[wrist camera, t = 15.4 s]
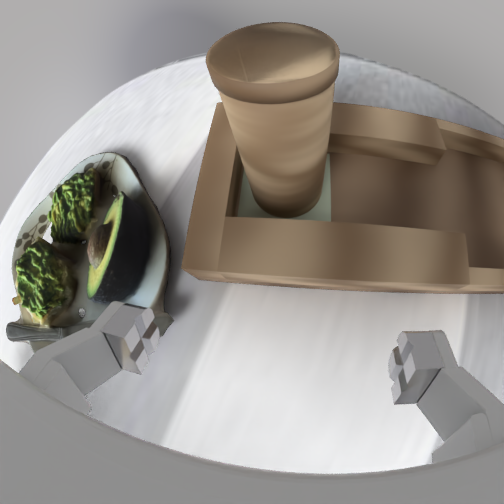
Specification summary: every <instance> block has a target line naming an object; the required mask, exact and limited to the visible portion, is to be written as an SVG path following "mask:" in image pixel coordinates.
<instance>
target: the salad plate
mask: <svg viewBox="0 0 504 504" xmlns="http://www.w3.org/2000/svg"><path fill="white" fill-rule="evenodd" d="M113 195H115V197H114V196H113ZM51 222H52V226H51V237H52V238H53V242H52V244H50V243H48V242H47V241H45V240H44V239H42V238H43V235H44V233H45V232H46V230H47V228H48V227H49V225H50V223H51ZM84 240H85V241H86V243H85V244H81V242H82V241H84ZM170 254H171V250H170V244H169V238H168V235H167V232H166V229H165V226H164V223H163V221H162V219H161V217H160V215H159V212H158V208H157V206H156V205H155V204H154V202H153V201H152V200H151V198H150V196H149V195H148V193H147V191H146V189H145V187H144V185H143V183H142V181H141V179H140V177H139V175H138V172H137V170H136V168H135V167H134V166H133V165H132V164H131V162H130V161H129V160H128V158H127V157H125V156H123V155H120V154H117V153H113V152H105V153H100V154H96V155H92V156H90V157H88V158H86V159H84V160H83V161H82V162H80V163H79V164H78V165H77V166H75V167H74V168H73V169H72V170H71V171H70V172H69V173H68V174H67V175H66V176H65V177H64V178H63V180H62V181H61V182H60V183H59V184H58V185H57V186H56V187H55V188H54V189H53V190H52V191H51V192H50V193H49V194H48V196H47V197H46V198H45V199H44V200H43V201H42V202H41V203H39V205H38V206H37V207H36V209H35V210H34V211H33V212H32V213H31V214H30V216H29V217H28V218H27V219H26V221H25V222H24V224H23V226H22V227H21V230H20V232H19V234H18V237H17V240H16V243H15V247H14V252H13V258H12V275H13V281H14V285H15V289H16V294H17V297H14V298H13V299H12V301H13V303H14V305H17V304H19V307H20V311H21V315H20V319H19V320H18V321H16V322H10V323H8V324H7V328H6V333H7V337H8V339H9V340H10V341H13V342H26V343H29V344H30V346H31V348H32V350H33V352H34V354H35V353H36V351H37V350H39V349H41V348H44V347H46V346H48V345H50V344H52V343H54V342H56V341H59V340H61V339H63V338H65V337H67V336H69V335H71V334H74V333H76V332H78V331H80V330H82V329H84V328H90V327H91V326H92V324H93V323H94V322H95V321H96V320H97V319H98V317H99V316H100V315H101V314H102V313H103V312H104V310H105V309H106V308H107V307H108V306H109V305H110V304H111V302H114V301H118V302H122V303H128V304H133V305H137V306H142V307H146V308H150V309H152V311H153V314H154V316H155V318H154V319H153V322H154V323H155V324H156V325H157V326H158V329H159V335H160V337H161V336H163V335H164V333H165V331H166V330H167V328H168V327H169V326H170V325H171V324H172V322H173V321H174V320H173V318H172V317H171V316H170V315H169V314H168V313H166V312H164V307H163V303H164V294H165V290H166V285H167V281H168V274H169V268H170V259H171V258H170ZM80 308H83V309H84V310H85V316H84V317H83V318H81V317H80V315H79V309H80Z"/></svg>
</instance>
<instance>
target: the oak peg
mask: <svg viewBox="0 0 504 504" xmlns="http://www.w3.org/2000/svg"><path fill="white" fill-rule="evenodd" d="M339 57H340V51H339V48H338V45H337V44H336V42H335V41H334V40H333V39H332V38H331V37H330V36H328V35H327V34H325V33H324V32H322V31H320V30H318V29H315V28H312V27H309V26H305V25H301V24H295V23H286V22H272V23H262V24H256V25H251V26H247V27H244V28H241V29H238V30H235V31H233V32H231V33H229V34H227V35H225V36H224V37H222V38H220V39H219V40H218V41H217V42H215V43H214V44H213V45H212V47H211V48H210V49H209V51H208V53H207V56H206V64H207V68H208V70H209V73H210V76H211V79H212V82H213V84H214V86H215V87H216V88H217V89H218V91H219V93H220V96H221V99H222V102H223V105H224V108H225V111H226V114H227V117H228V120H229V123H230V126H231V129H232V132H233V135H234V138H235V142H236V145H237V148H238V151H239V154H240V157H241V160H242V163H243V166H244V169H245V172H246V176H247V179H248V182H249V185H250V188H251V191H252V194H253V197H254V200H255V201H256V203H257V204H258V206H259V207H260V208H261V209H262V210H264V211H265V212H266V213H268V214H270V215H273V216H276V217H280V218H293V217H298V216H301V215H303V214H305V213H307V212H309V211H310V210H311V209H312V208H313V207H314V206H315V205H316V204H317V203H318V201H319V199H320V196H321V193H322V187H323V180H324V173H325V166H326V158H327V151H328V143H329V134H330V126H331V116H332V107H333V96H334V85H335V80H336V78H337V76H338V70H339Z"/></svg>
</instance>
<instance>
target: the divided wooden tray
mask: <svg viewBox="0 0 504 504" xmlns="http://www.w3.org/2000/svg"><path fill="white" fill-rule="evenodd" d="M181 269H183V270H184V271H186V272H188V273H189V274H191V275H192V276H194V277H196V278H197V279H199V280H207V281H218V282H230V283H242V284H254V285H267V286H281V287H296V288H312V289H330V290H349V291H371V292H399V293H445V294H503V293H504V139H501V138H499V137H496V136H493V135H490V134H488V133H485V132H482V131H479V130H476V129H472V128H469V127H466V126H462V125H459V124H455V123H452V122H448V121H444V120H440V119H436V118H432V117H428V116H423V115H418V114H414V113H409V112H403V111H398V110H392V109H386V108H379V107H372V106H364V105H356V104H346V103H335V102H333V107H332V116H331V126H330V134H329V143H328V151H327V158H326V166H325V173H324V180H323V187H322V193H321V196H320V199H319V201H318V203H317V204H316V205H315V206H314V207H313V208H312V209H311V210H310V211H309V212H307V213H305V214H303V215H301V216H298V217H293V218H280V217H276V216H273V215H270V214H268V213H266V212H265V211H264V210H262V209H261V208H260V207H259V206H258V204H257V203H256V201H255V200H254V197H253V194H252V191H251V188H250V185H249V182H248V179H247V176H246V172H245V169H244V166H243V163H242V160H241V157H240V154H239V151H238V148H237V145H236V142H235V138H234V135H233V132H232V129H231V126H230V123H229V120H228V117H227V114H226V111H225V108H224V105H223V102H220V103H217V105H216V109H215V113H214V116H213V120H212V124H211V128H210V132H209V136H208V140H207V144H206V148H205V152H204V156H203V160H202V164H201V169H200V173H199V178H198V182H197V187H196V191H195V196H194V201H193V206H192V211H191V216H190V221H189V226H188V232H187V237H186V243H185V248H184V254H183V260H182V266H181Z"/></svg>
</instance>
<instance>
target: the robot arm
mask: <svg viewBox="0 0 504 504" xmlns="http://www.w3.org/2000/svg"><path fill="white" fill-rule="evenodd" d="M154 318H155V316H154V314H153V311H152V309H150V308H146V307H142V306H137V305H133V304H128V303H122V302H118V301H114V302H111V304H110V305H109V306H108V307H107V308H106V309H105V310H104V312H103V313H102V314H101V315H100V316H99V317H98V319H97V320H96V321H95V322H94V323H93V324H92V326H91V327H90V328H84V329H82V330H80V331H78V332H76V333H74V334H71V335H69V336H67V337H65V338H63V339H61V340H59V341H56V342H54V343H52V344H50V345H48V346H46V347H44V348H41V349H39V350H37V351H36V353H35V354H34V355H33V356H32V357H31V359H30V360H29V361H28V362H27V363H26V365H25V366H24V367H23V368H22V370H21V371H20V372H19V373H17V372H16V371H15V370H13V369H12V368H11V367H9V366H8V365H7V364H5V363H4V362H3V361H2V360H0V504H504V404H503V403H502V402H501V401H500V400H499V399H497V398H496V397H495V396H494V395H493V394H492V393H491V392H490V391H489V390H488V389H486V388H485V387H484V386H483V385H482V384H481V383H480V382H479V381H478V380H476V379H475V378H474V377H473V376H472V375H471V374H470V373H468V372H467V371H466V370H465V369H464V368H463V367H458V365H457V362H456V360H455V357H454V354H453V352H452V349H451V347H450V344H449V342H448V340H447V337H446V335H445V333H444V332H443V331H442V330H437V331H402V332H401V333H400V334H399V337H398V339H397V343H398V346H397V347H396V348H395V349H393V351H392V353H391V355H390V359H389V376H390V378H391V379H392V380H393V381H394V382H395V383H394V384H393V386H392V388H391V389H392V395H393V402H394V404H414V403H417V404H416V405H417V406H418V407H419V409H420V410H421V411H422V413H423V414H424V415H425V417H426V418H427V419H428V421H429V422H430V423H431V425H432V426H433V427H434V429H435V430H436V431H437V433H438V434H439V436H440V437H441V438H442V440H443V441H444V442H443V443H442V444H441V445H440V446H439V447H438V448H436V449H435V450H434V451H433V453H432V462H433V463H432V464H427V465H422V466H416V467H410V468H404V469H397V470H389V471H379V472H367V473H348V474H314V473H295V472H282V471H273V470H264V469H257V468H250V467H244V466H238V465H232V464H227V463H222V462H218V461H213V460H209V459H204V458H200V457H196V456H193V455H189V454H185V453H182V452H178V451H175V450H172V449H169V448H165V447H162V446H159V445H156V444H153V443H151V442H148V441H145V440H142V439H140V438H137V437H134V436H132V435H129V434H127V433H125V432H122V431H120V430H117V429H115V428H113V427H111V426H108V425H106V424H104V423H102V422H100V421H98V420H96V419H93V418H91V417H89V416H87V415H88V413H89V411H90V409H91V404H90V403H89V402H88V400H87V399H86V398H85V397H84V396H85V395H86V394H88V393H89V392H91V391H92V390H94V389H95V388H97V387H98V386H100V385H101V384H103V383H104V382H105V381H107V380H108V379H110V378H111V377H113V376H114V375H116V374H117V373H118V372H120V371H121V370H122V369H123V370H127V371H130V372H134V373H137V374H142V373H143V371H144V369H145V368H146V366H147V364H148V362H149V357H148V355H150V354H152V353H153V352H155V350H156V348H157V347H158V343H159V339H160V335H159V329H158V326H157V325H156V324H155V323H154V322H153V319H154Z"/></svg>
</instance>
